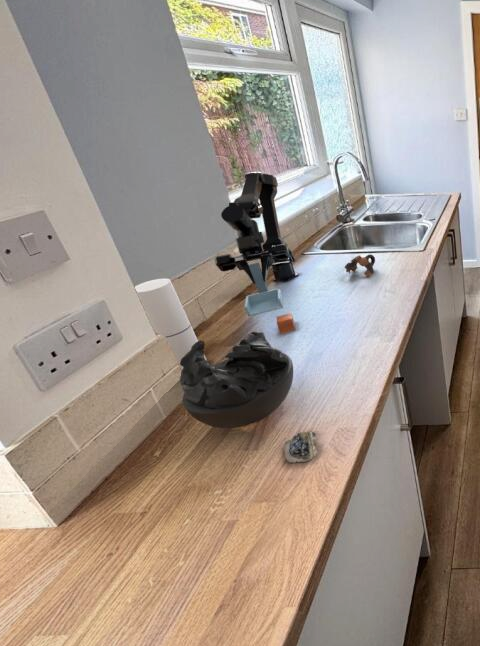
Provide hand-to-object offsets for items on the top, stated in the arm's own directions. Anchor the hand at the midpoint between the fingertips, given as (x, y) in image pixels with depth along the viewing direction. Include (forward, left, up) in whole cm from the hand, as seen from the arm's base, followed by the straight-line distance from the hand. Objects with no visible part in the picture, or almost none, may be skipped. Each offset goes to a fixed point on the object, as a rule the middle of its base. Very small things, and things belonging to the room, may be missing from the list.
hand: (259, 282), depth 120 cm
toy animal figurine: (-37, +7, -14) cm, 40 cm away
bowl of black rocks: (+33, +29, -14) cm, 46 cm away
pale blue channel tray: (+2, +2, -7) cm, 8 cm away
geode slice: (+38, +47, -14) cm, 62 cm away
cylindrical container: (+25, -1, -14) cm, 28 cm away
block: (+1, +7, -11) cm, 14 cm away
